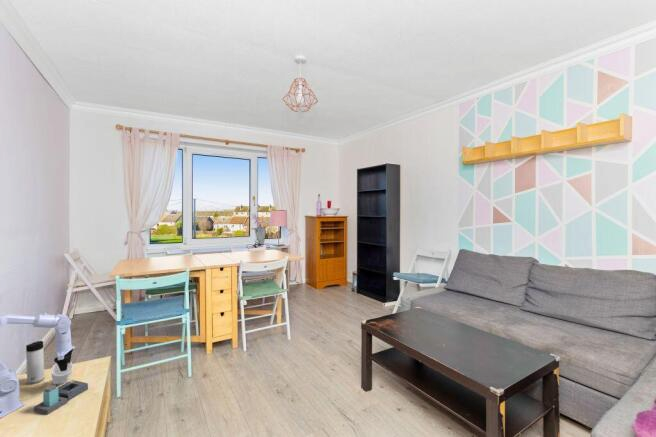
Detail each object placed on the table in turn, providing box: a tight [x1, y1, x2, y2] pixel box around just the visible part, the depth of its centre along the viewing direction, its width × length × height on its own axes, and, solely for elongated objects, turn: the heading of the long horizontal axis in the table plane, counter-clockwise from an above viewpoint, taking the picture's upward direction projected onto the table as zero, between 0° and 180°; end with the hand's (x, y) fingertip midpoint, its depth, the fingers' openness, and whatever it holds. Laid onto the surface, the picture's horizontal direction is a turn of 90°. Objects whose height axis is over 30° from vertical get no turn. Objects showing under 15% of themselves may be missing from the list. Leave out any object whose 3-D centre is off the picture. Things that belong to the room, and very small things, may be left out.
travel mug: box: [25, 340, 45, 385], centre depth 153 cm, size 6×7×20 cm
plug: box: [42, 384, 59, 407], centre depth 135 cm, size 4×4×9 cm
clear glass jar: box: [51, 361, 74, 385], centre depth 151 cm, size 8×8×10 cm
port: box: [57, 379, 89, 402], centre depth 145 cm, size 9×10×3 cm
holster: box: [33, 396, 69, 415], centre depth 136 cm, size 8×8×2 cm
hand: (65, 366), depth 148 cm, fingers open, 6 cm apart
